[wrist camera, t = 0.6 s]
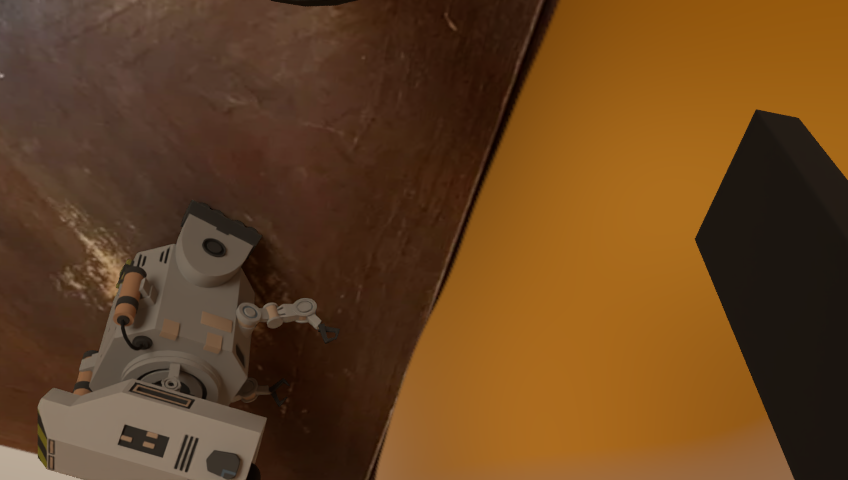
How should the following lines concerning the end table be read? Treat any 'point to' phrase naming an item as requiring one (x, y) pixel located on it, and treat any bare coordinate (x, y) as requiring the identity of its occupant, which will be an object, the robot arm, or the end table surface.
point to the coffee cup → (314, 2)
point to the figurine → (172, 366)
